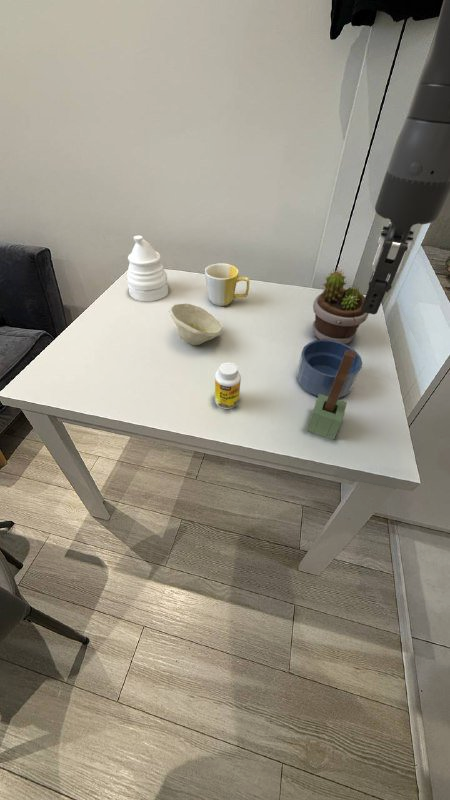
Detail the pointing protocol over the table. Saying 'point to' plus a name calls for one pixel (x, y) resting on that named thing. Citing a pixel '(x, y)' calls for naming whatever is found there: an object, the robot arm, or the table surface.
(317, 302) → the flowerpot
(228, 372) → the supplement bottle
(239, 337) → the table surface
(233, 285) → the mug
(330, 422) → the stick holder
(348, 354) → the brown stick
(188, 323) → the bowl
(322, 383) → the blue round tub
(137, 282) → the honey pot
